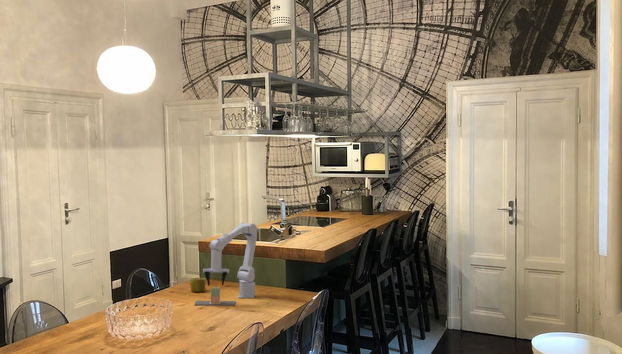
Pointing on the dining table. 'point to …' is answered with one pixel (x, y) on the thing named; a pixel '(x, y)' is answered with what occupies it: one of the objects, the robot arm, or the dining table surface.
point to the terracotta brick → (215, 299)
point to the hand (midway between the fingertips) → (215, 285)
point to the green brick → (215, 291)
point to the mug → (198, 284)
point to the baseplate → (221, 303)
